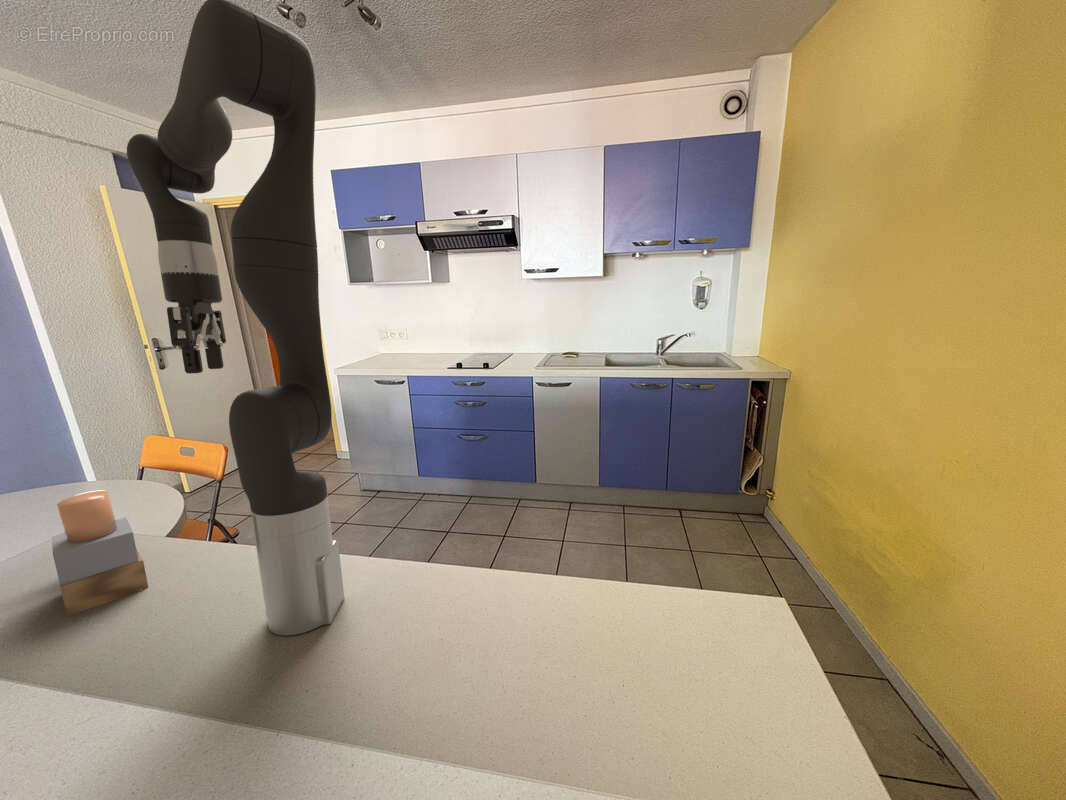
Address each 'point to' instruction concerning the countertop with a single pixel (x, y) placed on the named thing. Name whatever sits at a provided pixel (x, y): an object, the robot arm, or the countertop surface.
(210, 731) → the countertop surface
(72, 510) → the terracotta cylinder
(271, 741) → the countertop surface
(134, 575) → the walnut base block
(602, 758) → the countertop surface
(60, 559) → the slate top block
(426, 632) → the countertop surface
